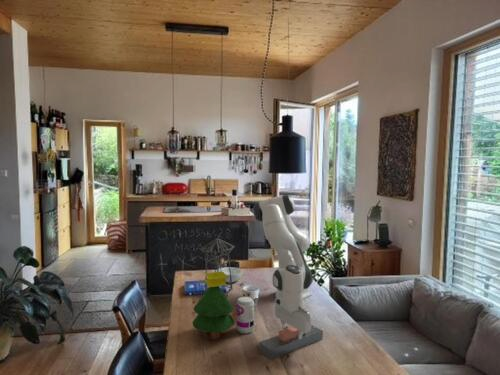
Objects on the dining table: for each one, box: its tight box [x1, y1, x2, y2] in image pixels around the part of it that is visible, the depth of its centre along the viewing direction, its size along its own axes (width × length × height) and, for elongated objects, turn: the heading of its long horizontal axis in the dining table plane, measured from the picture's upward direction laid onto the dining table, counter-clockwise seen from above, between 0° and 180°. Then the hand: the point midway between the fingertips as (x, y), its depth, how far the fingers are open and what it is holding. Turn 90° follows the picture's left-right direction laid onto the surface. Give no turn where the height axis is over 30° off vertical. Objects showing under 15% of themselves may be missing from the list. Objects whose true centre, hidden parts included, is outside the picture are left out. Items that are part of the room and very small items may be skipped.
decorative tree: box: [191, 271, 235, 340], centre depth 168 cm, size 19×19×30 cm
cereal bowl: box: [219, 266, 243, 284], centre depth 244 cm, size 17×17×7 cm
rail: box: [258, 324, 324, 360], centre depth 161 cm, size 30×8×4 cm, turn 125°
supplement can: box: [236, 296, 255, 334], centre depth 174 cm, size 8×8×15 cm
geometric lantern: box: [200, 237, 235, 298], centre depth 214 cm, size 16×16×35 cm
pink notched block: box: [278, 326, 305, 342], centre depth 161 cm, size 12×4×7 cm, turn 125°
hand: (292, 334), depth 161 cm, fingers open, 8 cm apart
